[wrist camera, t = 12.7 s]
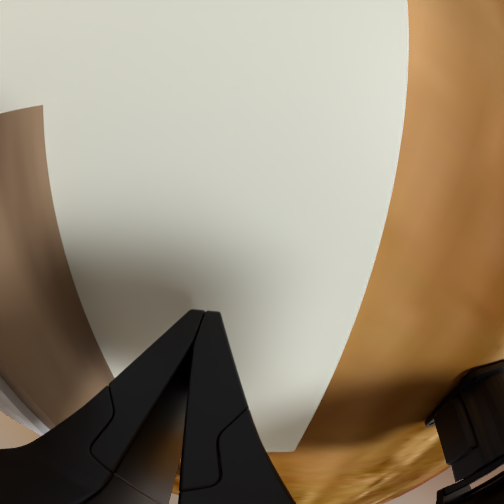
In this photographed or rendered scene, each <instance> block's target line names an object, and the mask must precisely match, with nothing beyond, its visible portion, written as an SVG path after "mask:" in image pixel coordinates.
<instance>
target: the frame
mask: <svg viewBox="0 0 504 504" xmlns="http://www.w3.org/2000/svg"><path fill="white" fill-rule="evenodd" d="M113 379H114V376H113V374H112V372H111V370H110V368H109V366H108V364H107V362H106V360H105V358H104V356H103V354H102V352H101V350H100V347H99V345H98V343H97V341H96V338H95V336H94V334H93V331H92V329H91V327H90V324H89V322H88V319H87V317H86V314H85V312H84V309H83V306H82V304H81V301H80V298H79V295H78V293H77V290H76V287H75V284H74V281H73V278H72V275H71V271H70V268H69V265H68V262H67V258H66V255H65V251H64V247H63V244H62V240H61V236H60V232H59V227H58V223H57V219H56V214H55V209H54V204H53V199H52V193H51V187H50V181H49V174H48V166H47V158H46V148H45V136H44V118H43V105H39V106H33V107H28V108H23V109H18V110H13V111H9V112H4V113H0V411H1V412H3V413H4V414H6V415H7V416H9V417H10V418H12V419H13V420H15V421H17V422H18V423H20V424H22V425H23V426H25V427H27V428H29V429H30V430H32V431H34V432H36V433H37V434H39V435H41V436H42V435H44V434H45V433H46V432H48V431H49V430H51V429H52V428H54V427H55V426H56V425H58V424H59V423H61V422H62V421H64V420H65V419H66V418H68V417H69V416H71V415H72V414H73V413H75V412H76V411H77V410H79V409H80V408H81V407H82V406H84V405H85V404H86V403H87V402H88V401H90V400H91V399H92V398H93V397H94V396H95V395H97V394H98V393H99V392H100V391H101V390H102V389H103V388H104V387H105V386H109V383H110V382H111V381H112V380H113Z"/></svg>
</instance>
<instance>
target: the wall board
mask: <svg viewBox="0 0 504 504" xmlns="http://www.w3.org/2000/svg"><path fill="white" fill-rule="evenodd" d="M408 54H409V27H408V4H407V0H0V113H4V112H9V111H13V110H18V109H23V108H28V107H33V106H39V105H43V118H44V136H45V148H46V158H47V166H48V174H49V181H50V187H51V193H52V199H53V204H54V209H55V214H56V219H57V223H58V227H59V232H60V236H61V240H62V244H63V247H64V251H65V255H66V258H67V262H68V265H69V268H70V271H71V275H72V278H73V281H74V284H75V287H76V290H77V293H78V295H79V298H80V301H81V304H82V306H83V309H84V312H85V314H86V317H87V319H88V322H89V324H90V327H91V329H92V331H93V334H94V336H95V338H96V341H97V343H98V345H99V347H100V350H101V352H102V354H103V356H104V358H105V360H106V362H107V364H108V366H109V368H110V370H111V372H112V374H113V376H114V378H115V377H117V376H118V375H119V374H120V373H121V372H122V371H123V370H124V369H125V368H126V367H128V366H129V365H130V364H131V363H132V362H133V361H134V360H135V359H136V358H137V357H138V356H140V355H141V354H142V353H143V352H144V351H145V350H146V349H147V348H148V347H149V346H151V345H152V344H153V343H154V342H155V341H156V340H157V339H158V338H159V337H160V336H161V335H163V334H164V333H165V332H166V331H167V330H168V329H169V328H170V327H171V326H172V325H174V324H175V323H176V322H177V321H178V320H179V319H180V318H181V317H182V316H183V315H184V314H186V313H187V312H188V311H189V310H191V309H198V310H204V311H205V312H206V311H208V310H209V311H219V312H220V313H221V315H222V319H223V323H224V326H225V330H226V333H227V337H228V340H229V344H230V347H231V351H232V354H233V357H234V361H235V364H236V368H237V371H238V374H239V377H240V381H241V384H242V387H243V390H244V393H245V397H246V400H247V403H248V406H249V410H250V412H251V415H252V418H253V421H254V424H255V426H256V429H257V432H258V434H259V437H260V439H261V442H262V444H263V446H264V448H265V450H266V452H294V450H295V449H296V447H297V445H298V443H299V442H300V440H301V438H302V436H303V434H304V432H305V431H306V429H307V427H308V425H309V423H310V421H311V419H312V417H313V415H314V413H315V411H316V409H317V407H318V405H319V403H320V401H321V399H322V397H323V395H324V393H325V391H326V389H327V387H328V384H329V382H330V380H331V378H332V376H333V373H334V371H335V369H336V366H337V364H338V362H339V359H340V357H341V355H342V352H343V350H344V347H345V345H346V342H347V340H348V337H349V335H350V332H351V330H352V327H353V324H354V322H355V319H356V316H357V313H358V311H359V308H360V305H361V302H362V299H363V296H364V293H365V290H366V287H367V284H368V281H369V278H370V275H371V271H372V268H373V265H374V261H375V258H376V255H377V251H378V247H379V244H380V240H381V236H382V233H383V229H384V225H385V221H386V217H387V212H388V208H389V204H390V199H391V194H392V190H393V185H394V180H395V174H396V169H397V163H398V157H399V151H400V145H401V138H402V131H403V123H404V114H405V104H406V93H407V79H408Z"/></svg>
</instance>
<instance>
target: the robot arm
mask: <svg viewBox="0 0 504 504" xmlns="http://www.w3.org/2000/svg"><path fill="white" fill-rule="evenodd" d="M425 425H426V427H429V426H433V425H436V429H437V432H438V435H439V438H440V442H441V445H442V449H443V452H444V456H445V459H446V463H447V464H448V465H451V466H452V470H453V474H454V478H455V482H457V481H459V480H461V479H463V480H461V481H459V482H457V483H455V484H452V485H450V486H447V487H445V488H442V489H440V490H438V491H437V501H436V504H504V471H502V472H501V473H499V474H498V475H496V476H494V477H493V478H491V479H489V480H488V481H486V482H484V483H482V484H481V485H479V486H477V487H475V488H473V489H471V487H470V484H472V483H473V482H475V481H477V480H479V479H481V478H483V477H484V476H486V475H488V474H489V473H491V472H493V471H494V470H496V469H497V468H499V467H500V466H502V465H504V361H503V362H500V363H497V364H494V365H490V366H487V367H483V368H480V369H476V370H473V371H471V372H470V373H469V374H468V375H467V376H466V377H465V378H464V379H463V381H462V382H461V383H460V384H459V385H458V386H457V388H456V389H455V390H454V391H453V392H452V393H451V395H450V396H449V397H448V398H447V399H446V400H445V401H444V402H443V403H442V404H441V405H440V407H439V408H438V409H437V410H436V411H435V412H434V413H433V414H432V415H431V416H430V417H429V418H428V419H427V420H426V421H425ZM181 454H182V456H181ZM180 458H181V468H180V483H179V491H180V493H179V500H178V504H296V503H295V501H294V500H293V498H292V496H291V495H290V493H289V491H288V490H287V488H286V486H285V485H284V483H283V481H282V479H281V478H280V476H279V474H278V472H277V471H276V469H275V467H274V465H273V464H272V462H271V460H270V458H269V456H268V454H267V452H266V450H265V448H264V446H263V444H262V442H261V439H260V437H259V434H258V432H257V429H256V426H255V424H254V421H253V418H252V415H251V412H250V410H249V406H248V403H247V400H246V397H245V393H244V390H243V387H242V384H241V381H240V377H239V374H238V371H237V368H236V364H235V361H234V357H233V354H232V351H231V347H230V344H229V340H228V337H227V333H226V330H225V326H224V323H223V319H222V315H221V313H220V312H219V311H209V310H208V311H206V312H205V311H204V310H198V309H191V310H189V311H188V312H187V313H186V314H184V315H183V316H182V317H181V318H180V319H179V320H178V321H177V322H176V323H175V324H174V325H172V326H171V327H170V328H169V329H168V330H167V331H166V332H165V333H164V334H163V335H161V336H160V337H159V338H158V339H157V340H156V341H155V342H154V343H153V344H152V345H151V346H149V347H148V348H147V349H146V350H145V351H144V352H143V353H142V354H141V355H140V356H138V357H137V358H136V359H135V360H134V361H133V362H132V363H131V364H130V365H129V366H128V367H126V368H125V369H124V370H123V371H122V372H121V373H120V374H119V375H118V376H117V377H115V378H114V379H113V380H112V381H111V382H110V383H109V386H105V387H104V388H103V389H102V390H101V391H100V392H99V393H98V394H97V395H95V396H94V397H93V398H92V399H91V400H90V401H88V402H87V403H86V404H85V405H84V406H82V407H81V408H80V409H79V410H77V411H76V412H75V413H73V414H72V415H71V416H69V417H68V418H66V419H65V420H64V421H62V422H61V423H59V424H58V425H56V426H55V427H54V428H52V429H51V430H49V431H48V432H46V433H45V434H44V435H42V436H41V437H39V438H38V439H36V440H35V441H33V442H31V443H29V444H27V445H24V446H21V447H17V448H9V449H0V504H169V500H170V496H171V492H172V488H173V485H174V481H175V477H176V473H177V469H178V466H179V462H180Z"/></svg>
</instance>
